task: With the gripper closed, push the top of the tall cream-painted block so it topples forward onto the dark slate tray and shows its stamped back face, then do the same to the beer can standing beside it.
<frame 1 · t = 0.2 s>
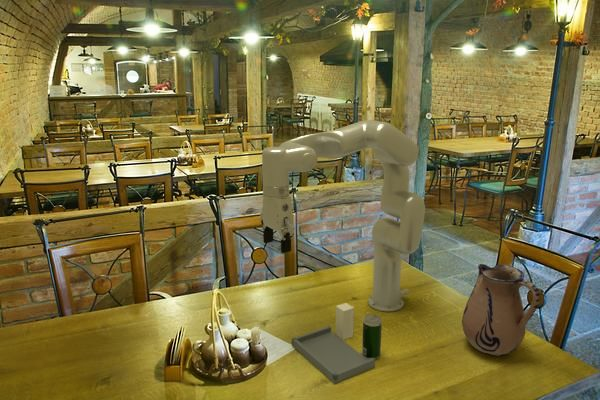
hand: (277, 247, 143), 31 cm above the table, tool pointing down, fingers open, 9 cm apart
block: (344, 335, 154), on the table
slate tray: (331, 355, 143), on the table
ceramic pitcher: (496, 350, 146), on the table
beer can: (371, 355, 143), on the table
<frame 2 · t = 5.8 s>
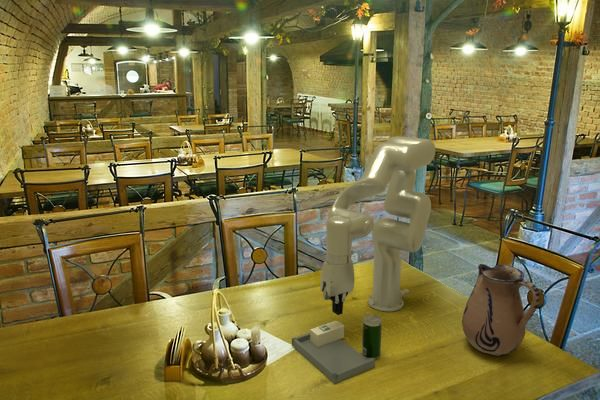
hand: (337, 312, 150), 9 cm above the table, tool pointing down, fingers closed
block: (340, 328, 152), point 3 cm above the table, tilted 90°, touching slate tray
everything else where it was.
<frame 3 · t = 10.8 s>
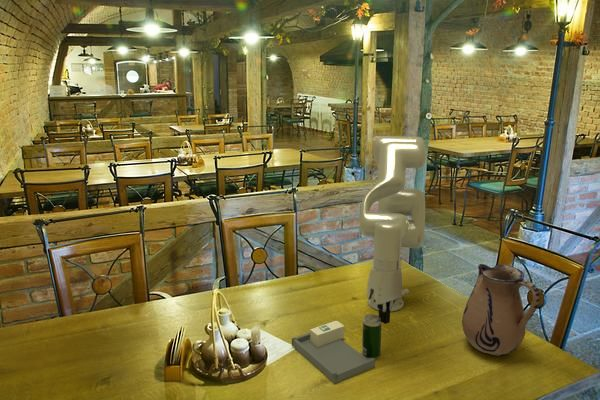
hand: (384, 321, 143), 10 cm above the table, tool pointing down, fingers closed
beer can: (371, 355, 143), on the table, touching gripper
everything else where it was.
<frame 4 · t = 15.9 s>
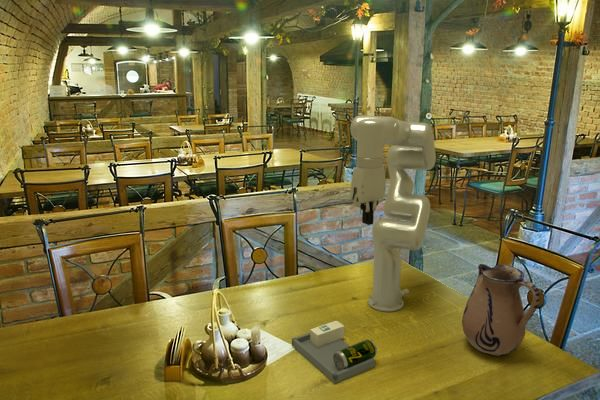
hand: (367, 223, 145), 37 cm above the table, tool pointing down, fingers closed
beer can: (371, 347, 141), point 3 cm above the table, touching slate tray
everything else where it was.
at the end: block tilted 90°; beer can tilted 90°; beer can inside the target area (8.6 cm from its centre), point 3.4 cm above the table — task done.
